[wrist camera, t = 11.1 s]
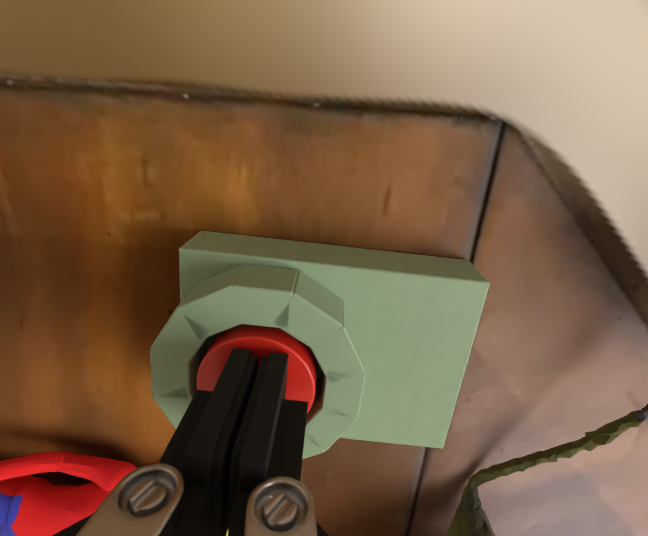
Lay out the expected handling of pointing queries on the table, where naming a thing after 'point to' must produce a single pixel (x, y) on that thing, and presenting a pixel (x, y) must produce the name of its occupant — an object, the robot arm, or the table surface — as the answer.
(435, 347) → the button box
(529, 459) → the artificial flower
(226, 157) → the table surface
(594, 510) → the table surface
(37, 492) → the character figure
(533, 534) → the table surface
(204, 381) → the button
